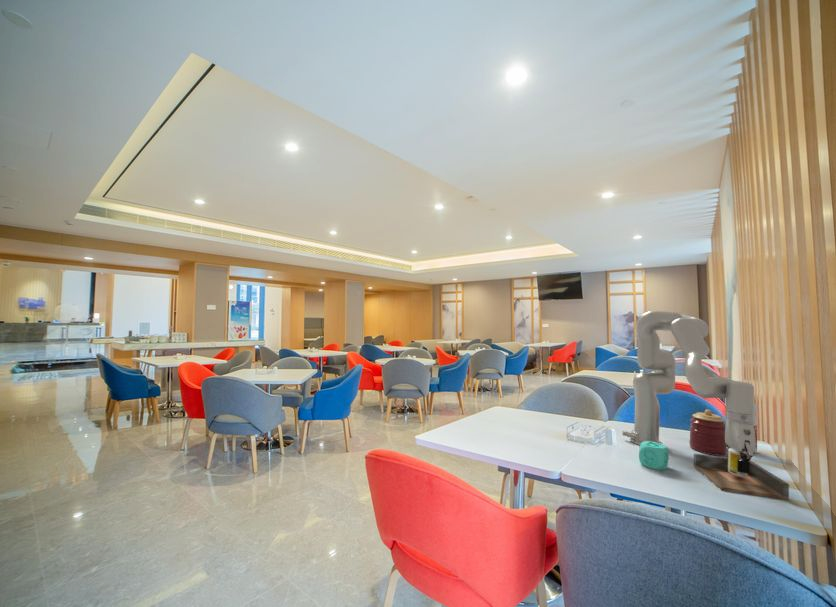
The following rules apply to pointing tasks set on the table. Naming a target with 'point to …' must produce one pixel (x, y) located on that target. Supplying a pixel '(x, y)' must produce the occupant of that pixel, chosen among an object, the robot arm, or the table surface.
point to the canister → (708, 433)
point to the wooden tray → (741, 478)
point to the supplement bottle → (734, 462)
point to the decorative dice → (653, 455)
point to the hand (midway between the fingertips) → (738, 468)
